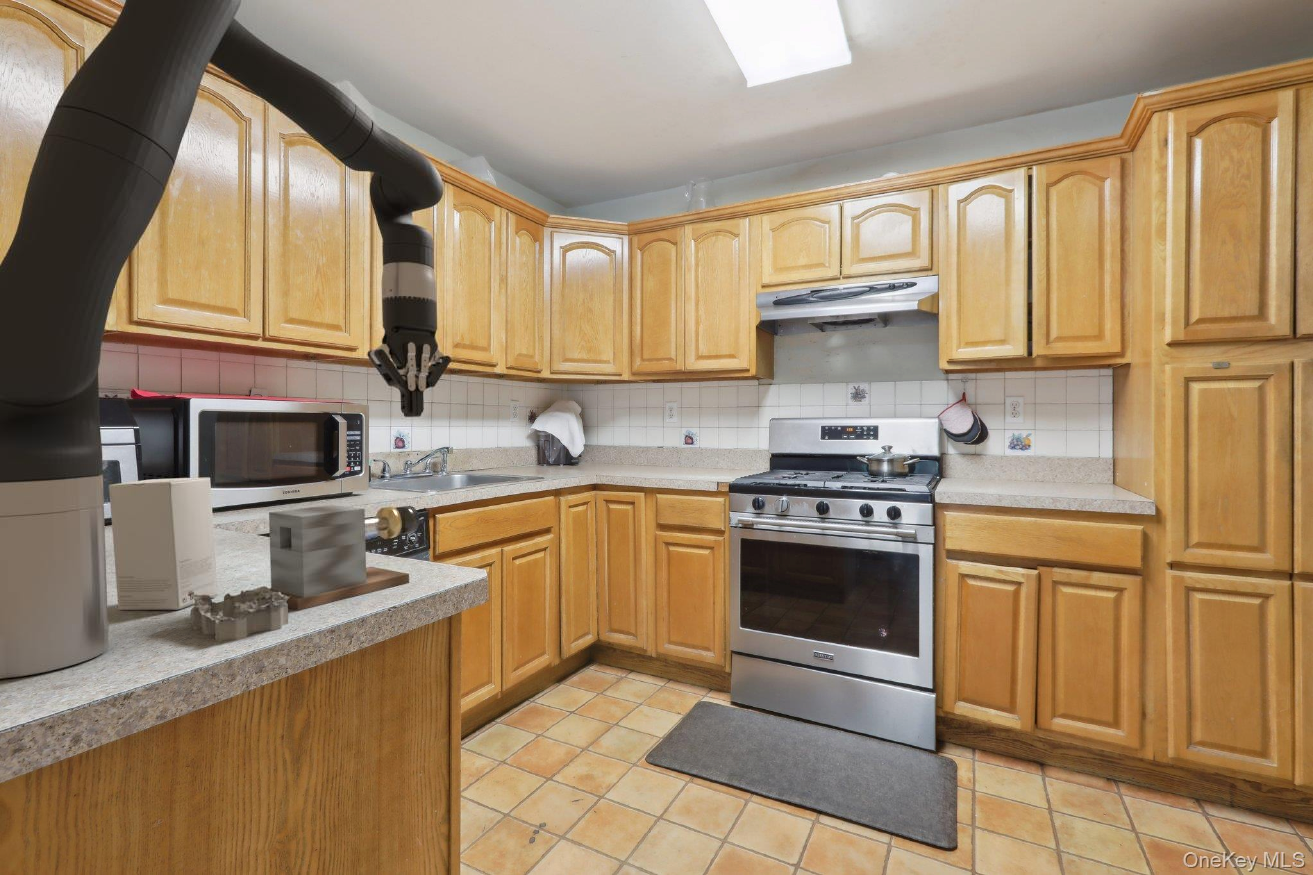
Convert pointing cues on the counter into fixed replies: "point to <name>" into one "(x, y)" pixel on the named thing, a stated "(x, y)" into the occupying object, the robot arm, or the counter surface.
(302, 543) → the bearing block
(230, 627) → the egg carton
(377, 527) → the shaft
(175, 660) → the counter surface
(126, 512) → the skincare box
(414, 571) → the counter surface
